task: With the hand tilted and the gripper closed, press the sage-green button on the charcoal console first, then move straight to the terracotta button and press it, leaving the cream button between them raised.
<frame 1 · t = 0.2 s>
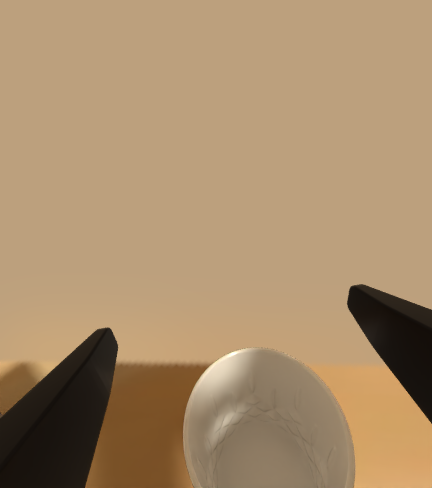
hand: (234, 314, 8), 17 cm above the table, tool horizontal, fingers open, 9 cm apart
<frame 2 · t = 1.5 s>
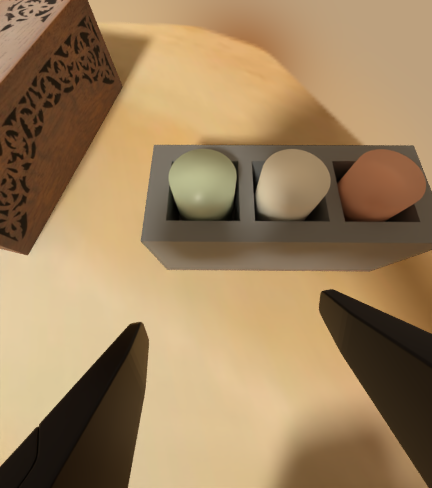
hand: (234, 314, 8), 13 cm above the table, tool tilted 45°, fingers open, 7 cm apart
cream button: (285, 195, 16), point 7 cm above the table, slide at 0.0 cm
terracotta button: (366, 195, 16), point 7 cm above the table, slide at 0.0 cm
console: (265, 233, 23), on the table
sage button: (204, 194, 16), point 7 cm above the table, slide at 0.0 cm
tissue box cover: (32, 149, 28), on the table
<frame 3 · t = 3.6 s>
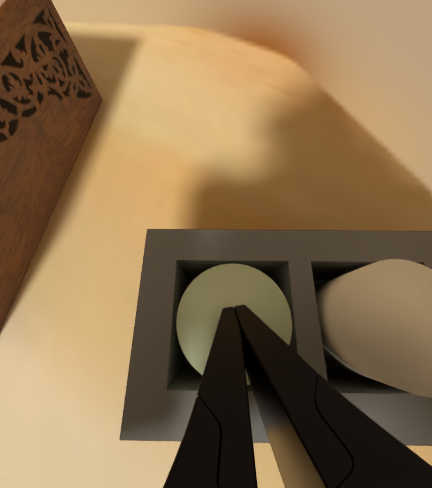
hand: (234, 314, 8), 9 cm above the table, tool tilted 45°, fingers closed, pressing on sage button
cream button: (368, 321, 9), point 7 cm above the table, slide at 0.0 cm
console: (305, 321, 16), on the table
sage button: (230, 319, 10), point 6 cm above the table, slide at 0.9 cm, touching gripper
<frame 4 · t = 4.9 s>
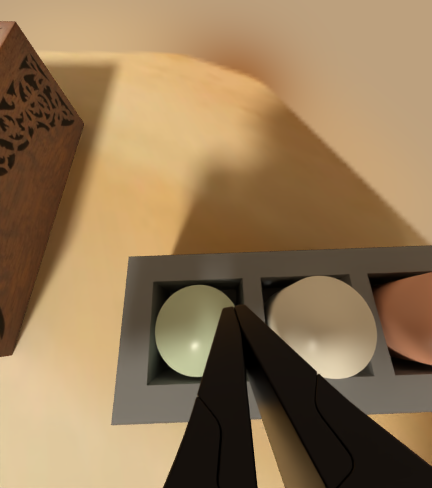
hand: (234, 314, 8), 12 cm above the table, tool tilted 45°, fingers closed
cream button: (307, 323, 12), point 7 cm above the table, slide at 0.0 cm
terracotta button: (415, 318, 12), point 7 cm above the table, slide at 0.0 cm
console: (274, 322, 19), on the table
sage button: (201, 326, 13), point 6 cm above the table, slide at 1.4 cm
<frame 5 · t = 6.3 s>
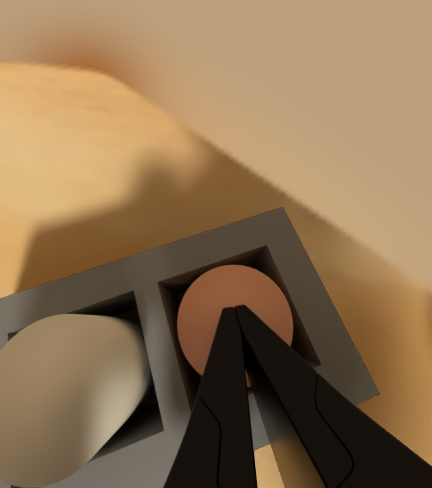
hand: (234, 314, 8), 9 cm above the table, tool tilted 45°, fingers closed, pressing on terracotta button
cream button: (91, 374, 9), point 7 cm above the table, slide at 0.0 cm
terracotta button: (231, 321, 10), point 6 cm above the table, slide at 1.2 cm, touching gripper
console: (147, 351, 15), on the table
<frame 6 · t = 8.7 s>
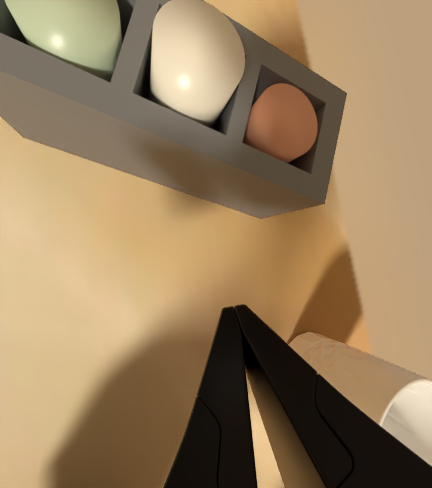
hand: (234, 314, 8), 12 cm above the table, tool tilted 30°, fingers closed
cream button: (191, 82, 12), point 7 cm above the table, slide at 0.0 cm
terracotta button: (268, 137, 15), point 6 cm above the table, slide at 1.4 cm
white cup: (304, 361, 24), on the table
console: (173, 141, 19), on the table
sage button: (79, 46, 12), point 6 cm above the table, slide at 1.4 cm
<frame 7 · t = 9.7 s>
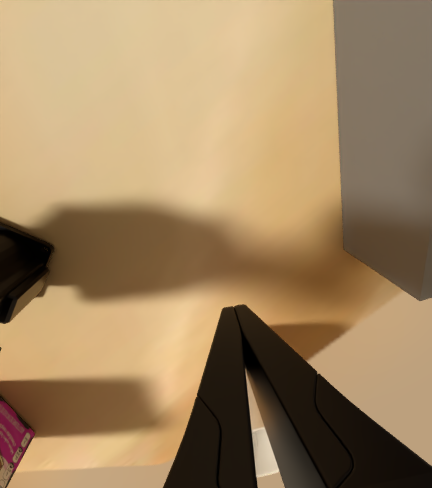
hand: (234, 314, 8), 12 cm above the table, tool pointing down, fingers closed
white cup: (238, 346, 26), on the table
console: (387, 129, 18), on the table
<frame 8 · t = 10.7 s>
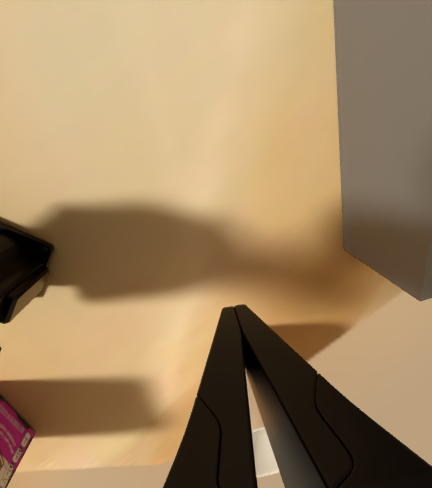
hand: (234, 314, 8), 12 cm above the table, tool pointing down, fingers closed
white cup: (238, 346, 26), on the table
console: (387, 129, 17), on the table
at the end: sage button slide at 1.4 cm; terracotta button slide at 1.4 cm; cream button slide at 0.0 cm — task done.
